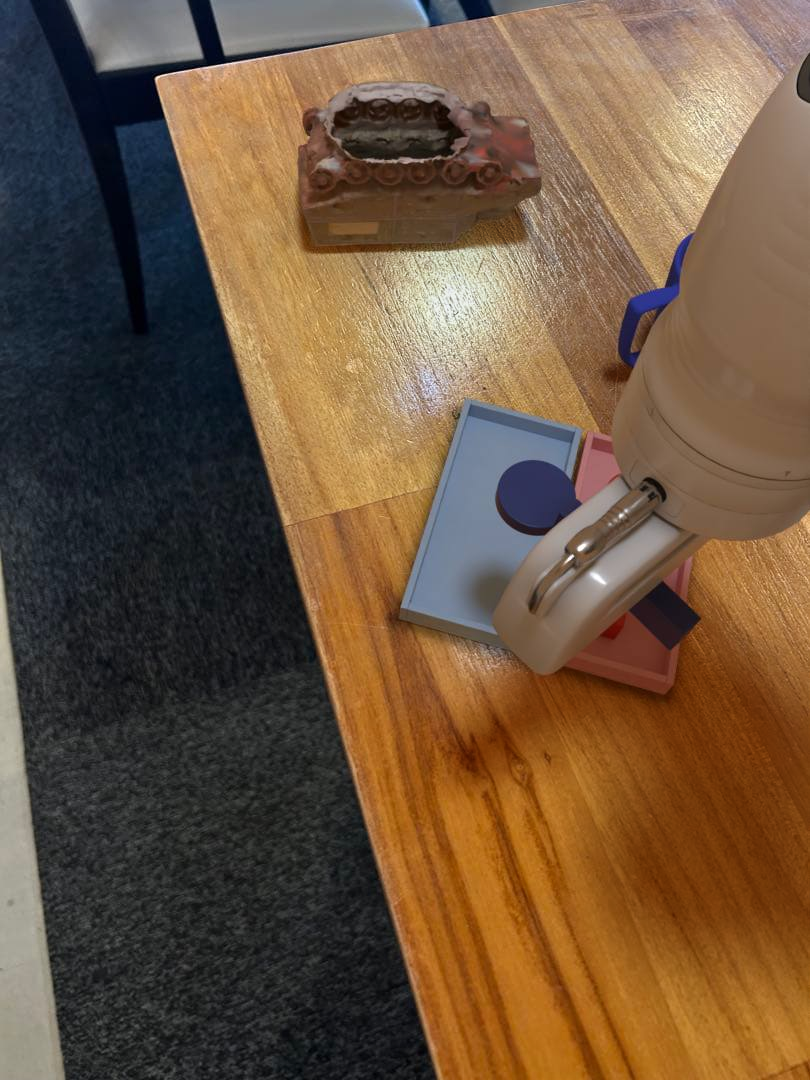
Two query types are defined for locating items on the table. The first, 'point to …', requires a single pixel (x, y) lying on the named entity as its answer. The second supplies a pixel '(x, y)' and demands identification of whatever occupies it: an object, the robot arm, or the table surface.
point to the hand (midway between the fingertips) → (633, 576)
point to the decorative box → (410, 165)
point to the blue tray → (479, 520)
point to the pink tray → (635, 647)
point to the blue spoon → (547, 498)
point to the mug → (650, 305)
